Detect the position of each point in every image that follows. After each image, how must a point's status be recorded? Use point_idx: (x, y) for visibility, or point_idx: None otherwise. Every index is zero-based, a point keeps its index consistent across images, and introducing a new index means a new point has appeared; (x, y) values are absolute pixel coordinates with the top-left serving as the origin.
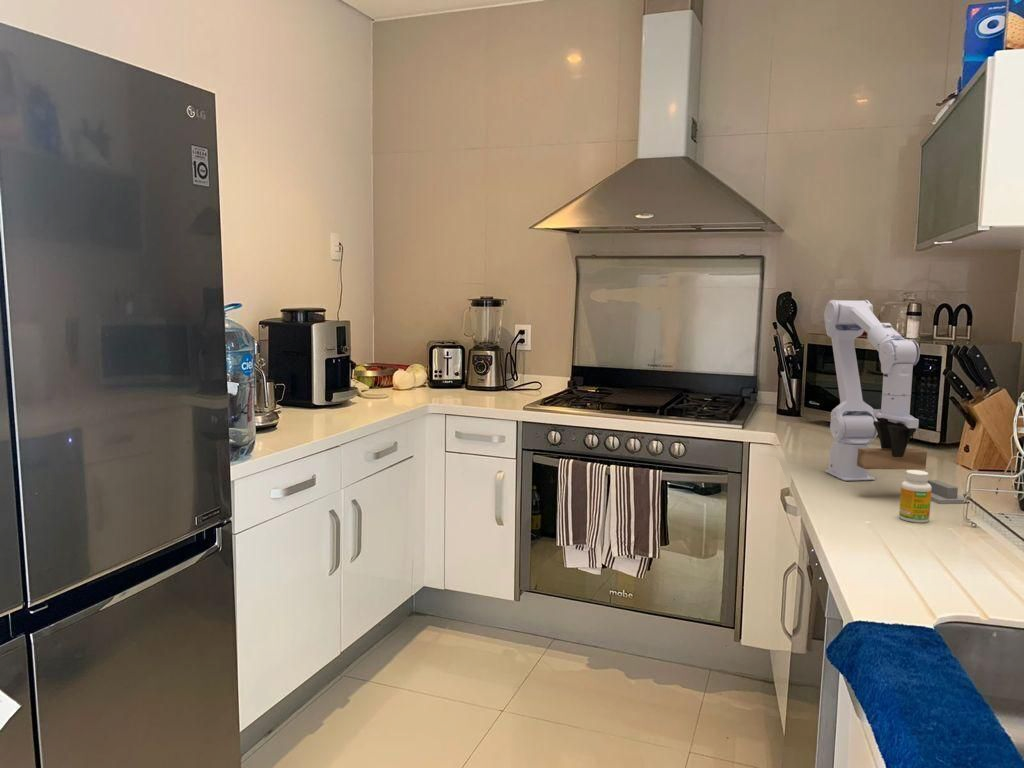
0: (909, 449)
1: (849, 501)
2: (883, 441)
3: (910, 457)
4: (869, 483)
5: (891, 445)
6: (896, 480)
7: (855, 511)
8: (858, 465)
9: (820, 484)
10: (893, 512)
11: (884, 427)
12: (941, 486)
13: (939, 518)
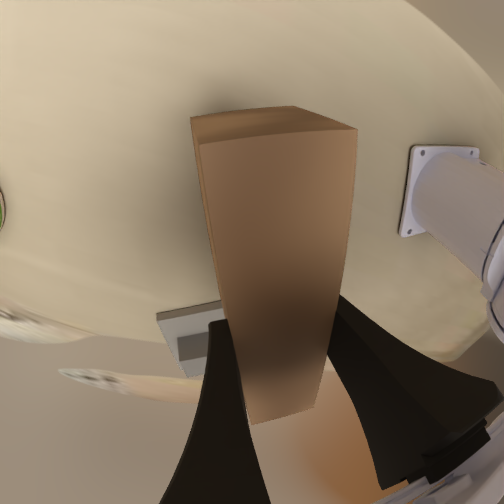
0: (298, 394)
1: (141, 39)
2: (359, 346)
3: None
4: (380, 209)
5: (235, 371)
6: (386, 282)
7: (17, 44)
8: (274, 107)
9: (387, 48)
10: (21, 163)
11: (409, 431)
12: (205, 354)
13: (11, 268)
